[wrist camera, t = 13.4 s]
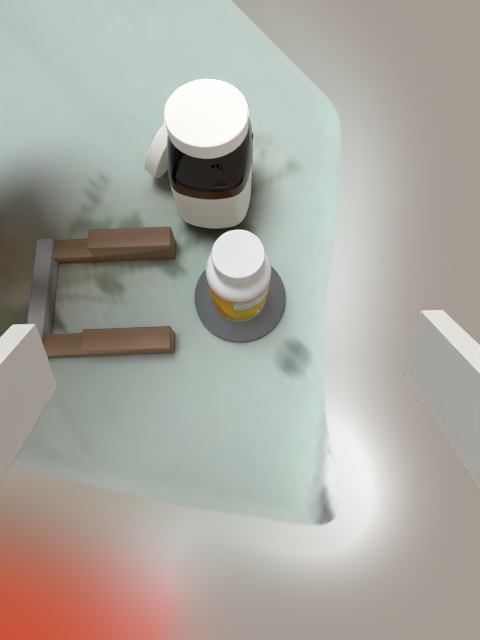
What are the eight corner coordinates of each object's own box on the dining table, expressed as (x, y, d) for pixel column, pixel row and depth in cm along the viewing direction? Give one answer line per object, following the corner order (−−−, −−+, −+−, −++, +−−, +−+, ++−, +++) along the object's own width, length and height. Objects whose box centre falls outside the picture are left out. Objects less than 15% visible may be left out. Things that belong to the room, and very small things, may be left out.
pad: (242, 360, 35) (242, 359, 35) (177, 300, 37) (176, 298, 36) (302, 296, 37) (303, 293, 36) (237, 241, 39) (237, 238, 38)
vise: (174, 352, 36) (168, 346, 33) (32, 358, 35) (13, 352, 33) (175, 241, 39) (170, 226, 36) (45, 246, 39) (29, 231, 36)
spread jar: (248, 241, 39) (250, 167, 28) (142, 234, 39) (102, 159, 28) (255, 147, 42) (259, 47, 31) (157, 142, 42) (127, 41, 31)
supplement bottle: (205, 279, 37) (193, 230, 27) (256, 265, 37) (261, 212, 28) (220, 329, 35) (212, 296, 26) (273, 314, 36) (284, 275, 26)
